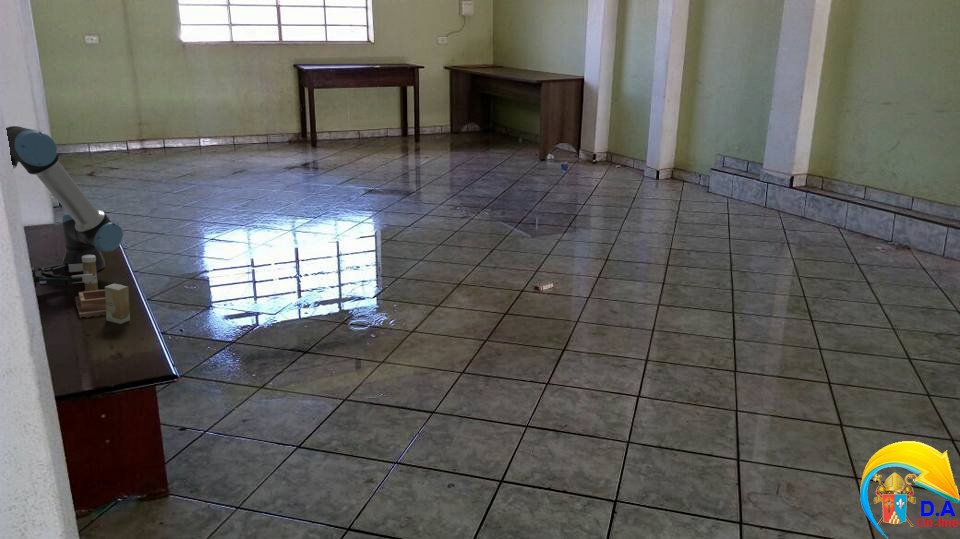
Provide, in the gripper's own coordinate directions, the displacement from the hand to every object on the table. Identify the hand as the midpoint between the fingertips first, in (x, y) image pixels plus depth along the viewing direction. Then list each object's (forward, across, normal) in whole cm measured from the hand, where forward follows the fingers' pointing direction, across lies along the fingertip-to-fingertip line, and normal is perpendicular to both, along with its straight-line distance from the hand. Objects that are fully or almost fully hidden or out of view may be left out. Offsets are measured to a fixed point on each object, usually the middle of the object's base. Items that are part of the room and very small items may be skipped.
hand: (90, 272), depth 270 cm
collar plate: (0, +18, -7) cm, 19 cm away
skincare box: (+5, +33, -8) cm, 34 cm away
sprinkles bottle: (0, 0, -8) cm, 8 cm away
